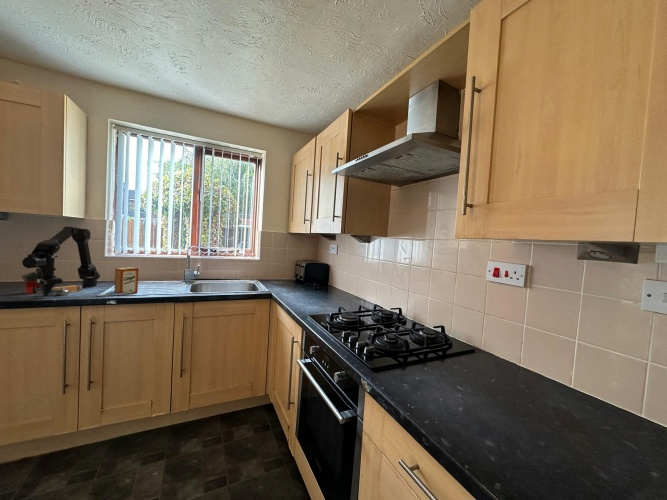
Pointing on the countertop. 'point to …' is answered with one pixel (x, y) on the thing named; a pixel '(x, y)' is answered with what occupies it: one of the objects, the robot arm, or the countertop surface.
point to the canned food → (31, 287)
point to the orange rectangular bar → (67, 288)
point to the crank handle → (56, 292)
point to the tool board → (79, 288)
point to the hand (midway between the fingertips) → (45, 295)
